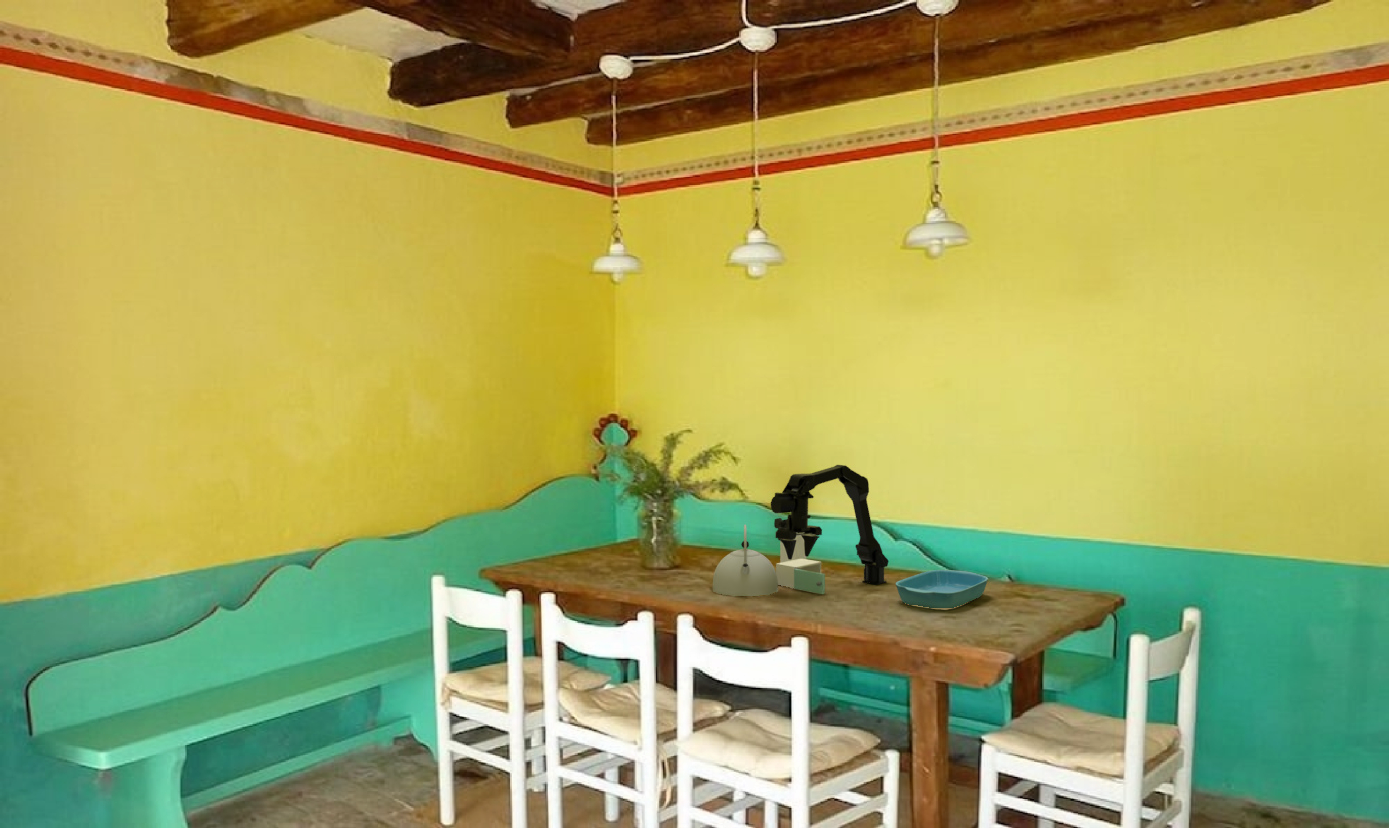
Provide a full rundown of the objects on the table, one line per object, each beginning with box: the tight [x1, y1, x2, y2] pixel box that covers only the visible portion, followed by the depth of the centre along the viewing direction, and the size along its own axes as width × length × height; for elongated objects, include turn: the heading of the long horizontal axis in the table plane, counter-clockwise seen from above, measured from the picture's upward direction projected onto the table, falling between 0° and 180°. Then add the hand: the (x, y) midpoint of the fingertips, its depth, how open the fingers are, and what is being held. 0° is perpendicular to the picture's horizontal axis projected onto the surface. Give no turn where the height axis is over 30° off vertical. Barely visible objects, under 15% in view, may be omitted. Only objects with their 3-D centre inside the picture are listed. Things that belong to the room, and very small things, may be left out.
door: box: [794, 569, 826, 595], centre depth 339 cm, size 12×2×7 cm, turn 44°
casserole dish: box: [895, 569, 989, 608], centre depth 327 cm, size 37×22×7 cm, turn 140°
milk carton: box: [779, 535, 807, 563], centre depth 370 cm, size 7×7×19 cm
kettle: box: [712, 524, 779, 597], centre depth 343 cm, size 25×23×22 cm
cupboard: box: [775, 558, 822, 589], centre depth 353 cm, size 9×14×8 cm, turn 134°
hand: (798, 557), depth 336 cm, fingers open, 9 cm apart
